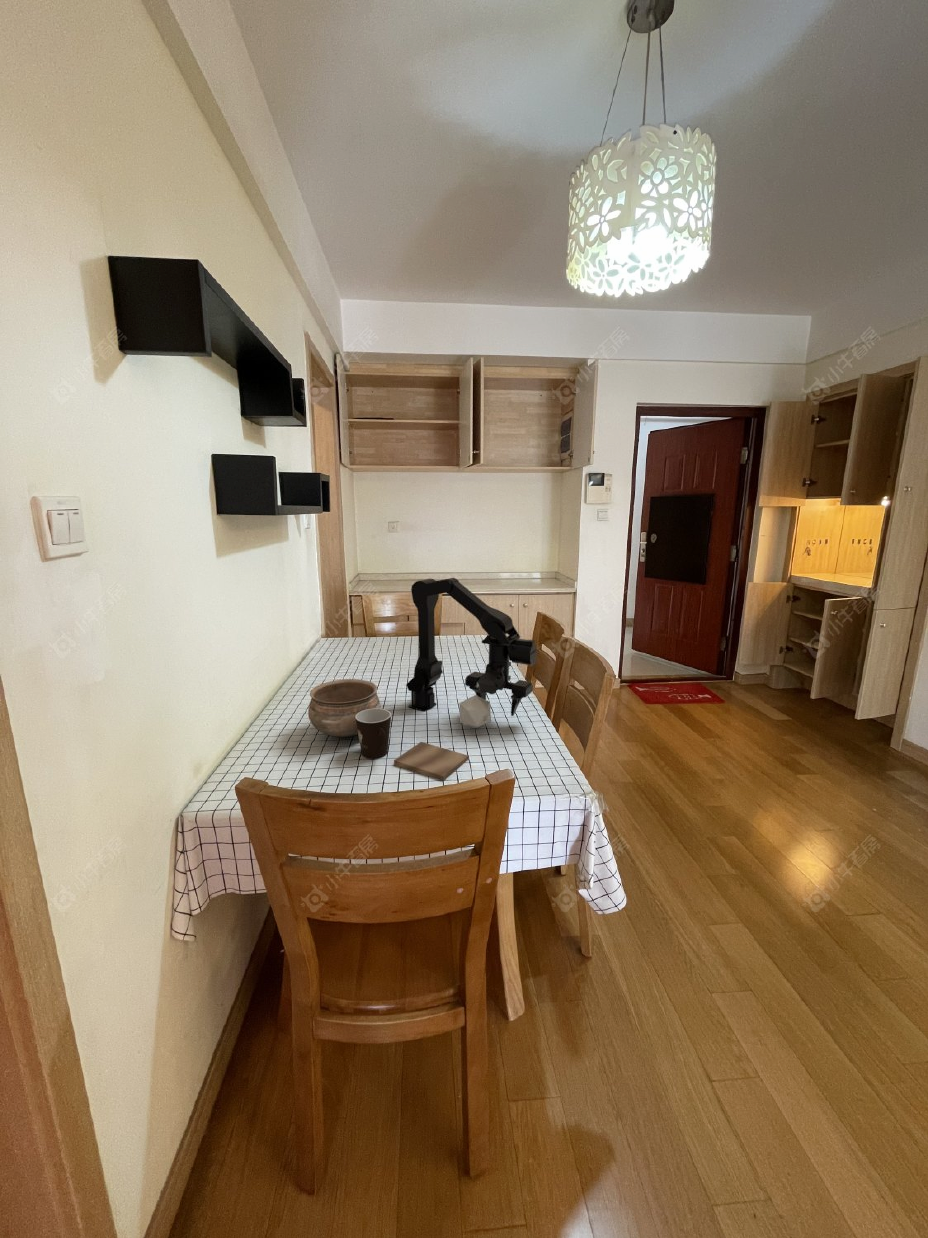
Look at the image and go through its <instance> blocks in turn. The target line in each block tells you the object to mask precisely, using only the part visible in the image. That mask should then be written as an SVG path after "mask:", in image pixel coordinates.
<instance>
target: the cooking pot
mask: <svg viewBox="0 0 928 1238" xmlns="http://www.w3.org/2000/svg"><path fill="white" fill-rule="evenodd" d="M377 691H378V686H377V685H376V684H375V683H374V682H372V681H369V680H365V679H356V678H354V679H353V678H349V679H347V678H346V679H336V680H332V681H326V682H323V683H321V684H318V685H317V686H315V687H313V688H312V689H311V690H310V692H309V696H310V698H311V699H310V701H309V705H308V708H307V709H308V710H307V711H308V713H307V714H308V719H309V721H310V723H311V724H312V726H313V727H314V728H315V729H316V730H317V731H319V732H320V733H323V734H325V735H328V736H332V737H336V738H339V739H349V738H353V737H355V736H357V735H358V730H357V724H356V718H355V716H356V714H357V713H359V712H361V711H363V710H367V709H374V708H378V709H382V708H381V702H380V698H379V696H378V694H377Z"/></svg>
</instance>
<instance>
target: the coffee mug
mask: <svg viewBox="0 0 928 1238" xmlns="http://www.w3.org/2000/svg"><path fill="white" fill-rule="evenodd" d="M355 718H356V724H357V730H358V734H357V735H358V741H359V746H360V751H361V752H360V753H361V756H362V758H364V759H368V760H378V759H381V758H384V757H386V756H387V755H388V753H389V745H390V744H389V741H390V731H391V730H390V729H391V720H392V713H391V712H390V711H389V710H387V709H384V708H381V709H378V708H374V709H367V710H363V711H361V712H359V713H357V714H356V716H355Z"/></svg>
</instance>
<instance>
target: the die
mask: <svg viewBox="0 0 928 1238" xmlns="http://www.w3.org/2000/svg"><path fill="white" fill-rule="evenodd" d="M458 704H459V719H460V721H459V722H460V723H461V724H462V725H465V726H468V727H470V728H471V729H472V728H473V729H474V730H476V729H478V728H480V727H482V726H484V725H487V724H488V723H490V722H491V721H492V713H491V702H490V701H489V700H487V699H486V700H485V699H483V698H481V697H479V696H477V695H476V694H475V695H472V696H471V697H469V698H467V699H465V700H463V701H460V702H459V703H458Z"/></svg>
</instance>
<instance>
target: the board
mask: <svg viewBox="0 0 928 1238" xmlns="http://www.w3.org/2000/svg"><path fill="white" fill-rule="evenodd" d="M468 761H469V755H468V754H465V753H461V752H457V751H454V750H451V749H447V748H444V747H441V746H437V745H434V744H430V743H427V742H424V741H423V742H422V741H420V742H419V743H417V744H415V745H414V746H413V747H411V748H409V749H408V750H407V751H405V752H404V753H403V754H401V755H399V756H398V757H397V758H395V759H394V760H393V765H394V766H396V767H399V768H401V769H406V770H409V771H412V772H414V773H418V774H421V775H424V776H426V777H430V778H433V779H436V780H439V781H442V782H445V781H446V780H447V779H448V778H450V776H452V775H453V774H454V773H455V772H456V771H458V769H460V768H461V767H462V766H463V765H464V764H465V763H466V762H468Z"/></svg>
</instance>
